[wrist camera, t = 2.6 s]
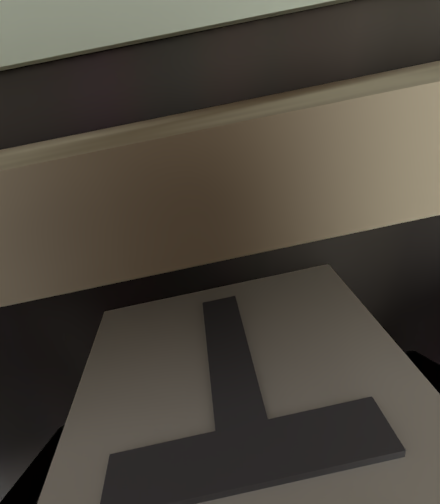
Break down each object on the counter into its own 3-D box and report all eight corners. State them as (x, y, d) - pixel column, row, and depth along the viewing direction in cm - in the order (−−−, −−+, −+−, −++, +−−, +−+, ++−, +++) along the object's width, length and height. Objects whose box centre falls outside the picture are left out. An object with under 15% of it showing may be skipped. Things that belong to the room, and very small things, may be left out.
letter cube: (327, 257, 8) (591, 556, 3) (330, 406, 11) (466, 694, 6) (102, 305, 8) (-42, 701, 3) (163, 443, 11) (148, 769, 6)
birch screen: (758, -4, 6) (1306, -96, 3) (716, 78, 7) (1134, 68, 4) (-434, 237, 6) (-1085, 392, 3) (-354, 300, 7) (-810, 477, 4)
